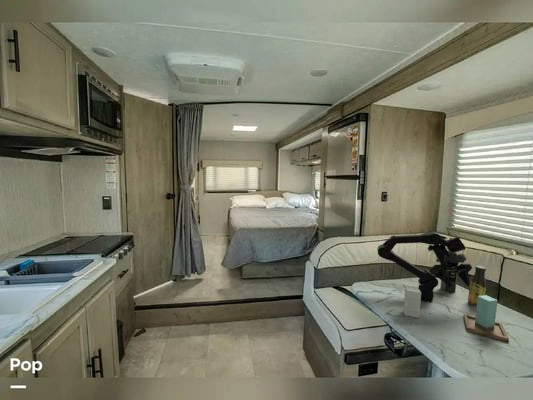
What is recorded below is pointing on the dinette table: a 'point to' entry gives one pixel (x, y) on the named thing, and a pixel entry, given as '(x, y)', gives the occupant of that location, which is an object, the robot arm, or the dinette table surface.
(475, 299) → the sauce bottle
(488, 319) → the teal block
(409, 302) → the skincare box
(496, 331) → the walnut tray
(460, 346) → the dinette table surface
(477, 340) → the dinette table surface
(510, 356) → the dinette table surface
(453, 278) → the wine bottle
